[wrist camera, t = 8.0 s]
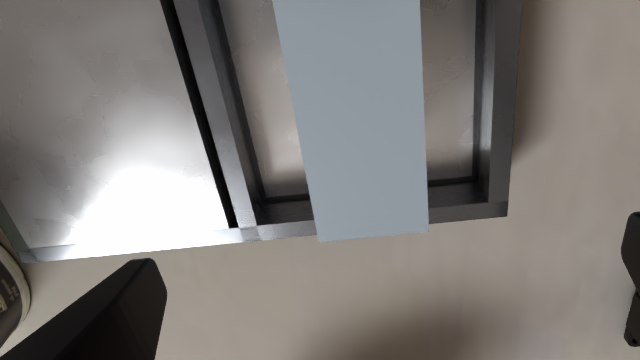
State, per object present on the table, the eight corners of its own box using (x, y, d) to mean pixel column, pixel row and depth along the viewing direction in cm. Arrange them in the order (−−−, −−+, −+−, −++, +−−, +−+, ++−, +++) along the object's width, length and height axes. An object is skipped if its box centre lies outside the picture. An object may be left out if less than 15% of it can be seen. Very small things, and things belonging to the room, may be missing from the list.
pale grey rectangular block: (392, -57, 16) (418, -38, 11) (405, 147, 20) (429, 231, 15) (290, -41, 17) (269, -15, 11) (323, 157, 21) (318, 242, 15)
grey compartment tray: (506, -182, 15) (544, -200, 12) (489, 184, 22) (511, 225, 19) (-110, -69, 17) (-196, -64, 14) (52, 229, 24) (15, 272, 21)
